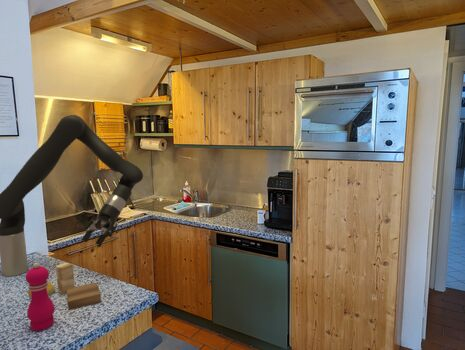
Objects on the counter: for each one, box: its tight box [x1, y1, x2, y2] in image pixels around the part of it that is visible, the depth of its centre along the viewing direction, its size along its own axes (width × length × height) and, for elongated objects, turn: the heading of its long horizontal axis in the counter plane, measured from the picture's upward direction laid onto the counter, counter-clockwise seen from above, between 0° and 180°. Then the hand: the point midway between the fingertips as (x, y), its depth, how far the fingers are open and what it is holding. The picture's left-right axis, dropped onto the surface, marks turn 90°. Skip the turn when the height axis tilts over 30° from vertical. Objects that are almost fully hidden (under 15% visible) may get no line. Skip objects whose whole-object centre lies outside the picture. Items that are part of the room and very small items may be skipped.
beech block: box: [55, 262, 76, 295], centre depth 122 cm, size 4×4×10 cm
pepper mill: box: [25, 262, 56, 332], centre depth 100 cm, size 7×7×20 cm
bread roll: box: [27, 281, 56, 299], centre depth 121 cm, size 8×9×4 cm
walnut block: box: [66, 281, 102, 311], centre depth 116 cm, size 10×10×3 cm
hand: (90, 242), depth 130 cm, fingers open, 8 cm apart
